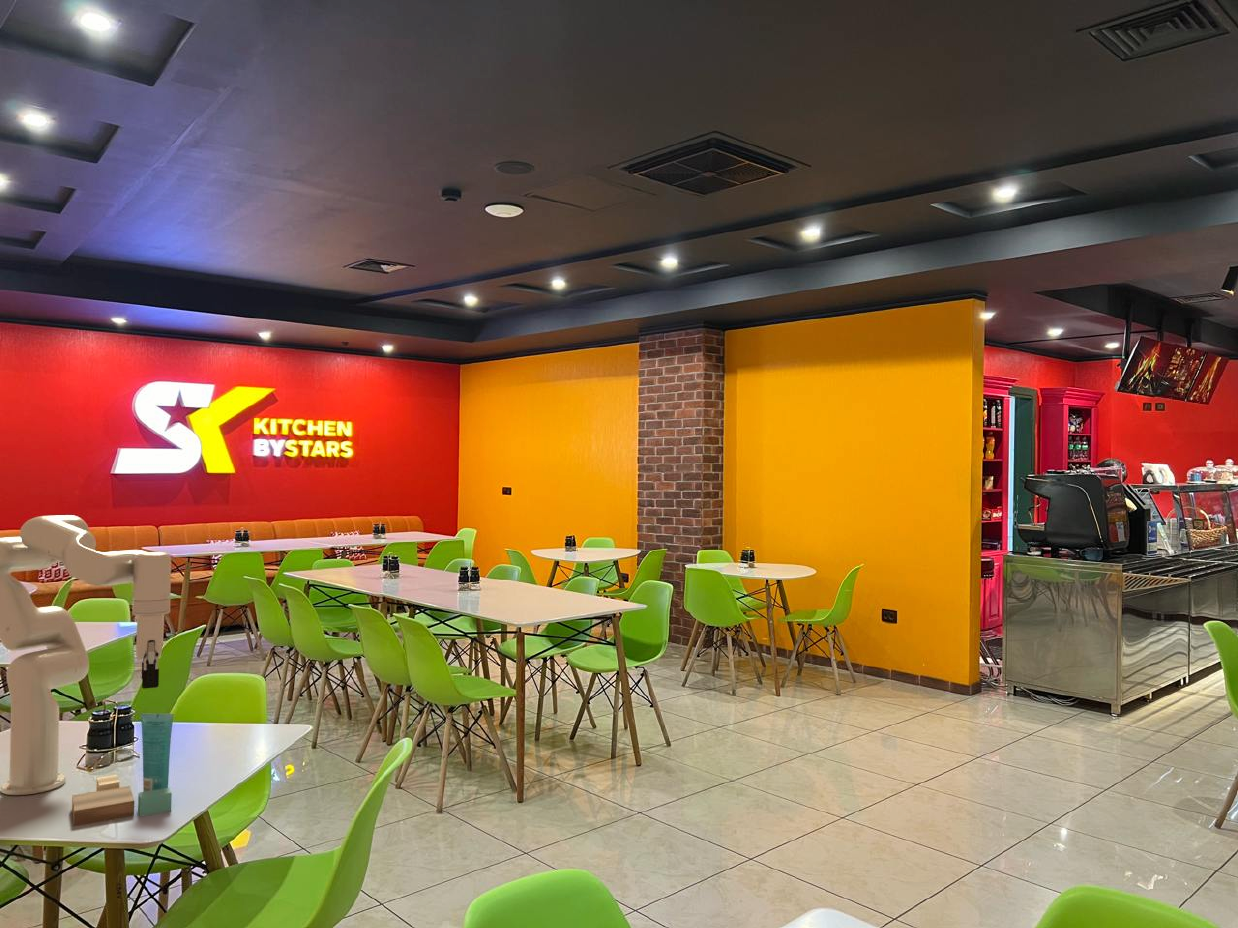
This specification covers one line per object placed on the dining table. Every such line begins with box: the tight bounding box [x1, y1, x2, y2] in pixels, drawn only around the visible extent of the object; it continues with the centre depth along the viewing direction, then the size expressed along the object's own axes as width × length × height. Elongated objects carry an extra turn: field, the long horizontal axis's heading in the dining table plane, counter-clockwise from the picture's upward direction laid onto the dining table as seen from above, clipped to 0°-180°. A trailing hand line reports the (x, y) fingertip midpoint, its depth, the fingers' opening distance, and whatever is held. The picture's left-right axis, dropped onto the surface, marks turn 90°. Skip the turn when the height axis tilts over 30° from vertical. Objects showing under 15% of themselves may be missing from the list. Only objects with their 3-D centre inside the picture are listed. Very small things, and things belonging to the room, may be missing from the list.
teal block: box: [137, 787, 173, 817], centre depth 190 cm, size 6×4×4 cm, turn 125°
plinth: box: [71, 785, 135, 826], centre depth 189 cm, size 11×11×3 cm
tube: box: [140, 712, 175, 792], centre depth 197 cm, size 7×5×19 cm, turn 96°
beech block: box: [95, 774, 120, 792], centre depth 198 cm, size 6×4×4 cm, turn 35°
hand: (149, 683), depth 195 cm, fingers open, 9 cm apart
